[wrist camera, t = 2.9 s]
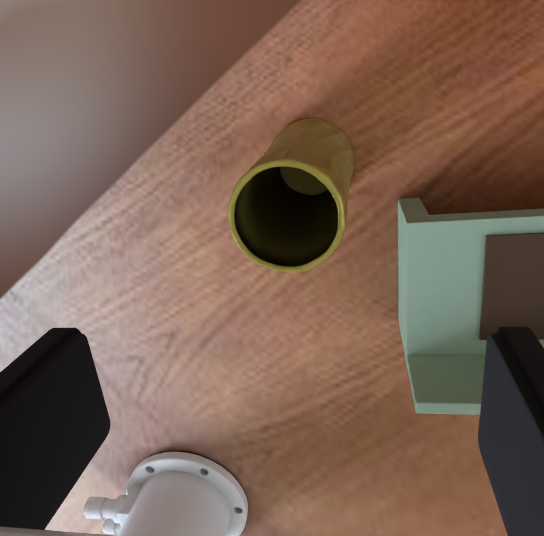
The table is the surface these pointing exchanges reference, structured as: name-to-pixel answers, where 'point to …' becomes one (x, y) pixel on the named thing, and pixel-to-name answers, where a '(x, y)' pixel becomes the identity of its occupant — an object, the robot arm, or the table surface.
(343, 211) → the vase
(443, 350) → the shelf
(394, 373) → the table surface
